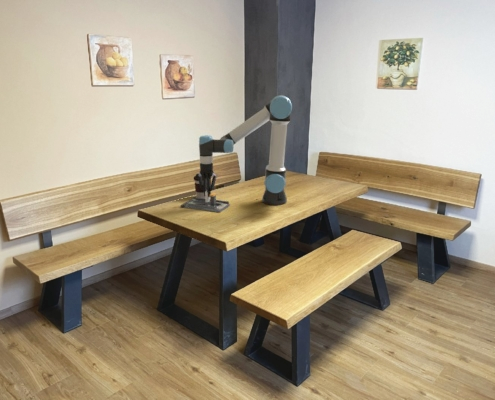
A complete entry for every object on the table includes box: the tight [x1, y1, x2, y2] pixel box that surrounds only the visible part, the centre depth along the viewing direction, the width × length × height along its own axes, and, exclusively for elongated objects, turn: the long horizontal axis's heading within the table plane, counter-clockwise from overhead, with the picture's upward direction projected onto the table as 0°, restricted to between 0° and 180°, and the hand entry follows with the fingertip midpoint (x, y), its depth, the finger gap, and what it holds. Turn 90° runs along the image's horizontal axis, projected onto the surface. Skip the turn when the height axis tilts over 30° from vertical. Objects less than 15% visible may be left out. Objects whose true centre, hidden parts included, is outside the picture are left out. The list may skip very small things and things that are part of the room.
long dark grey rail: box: [192, 197, 230, 204], centre depth 258 cm, size 24×3×2 cm, turn 68°
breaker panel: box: [184, 199, 231, 213], centre depth 249 cm, size 26×13×2 cm, turn 68°
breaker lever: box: [210, 192, 217, 206], centre depth 246 cm, size 2×4×7 cm, turn 158°
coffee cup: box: [193, 175, 205, 198], centre depth 266 cm, size 10×10×15 cm
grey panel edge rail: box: [180, 198, 194, 209], centre depth 253 cm, size 2×14×2 cm, turn 158°
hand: (207, 201), depth 248 cm, fingers closed
